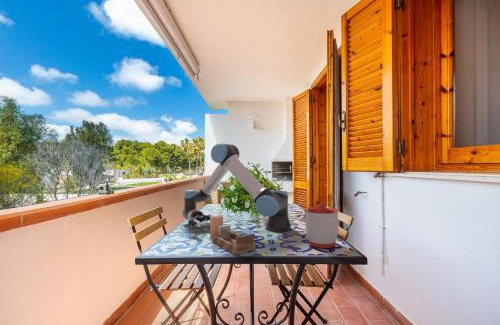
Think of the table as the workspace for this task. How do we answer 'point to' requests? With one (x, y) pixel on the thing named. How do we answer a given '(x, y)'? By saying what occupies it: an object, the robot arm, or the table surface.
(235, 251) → the tray
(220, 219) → the jar
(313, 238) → the citrus juicer
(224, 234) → the pusher
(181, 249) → the table surface
